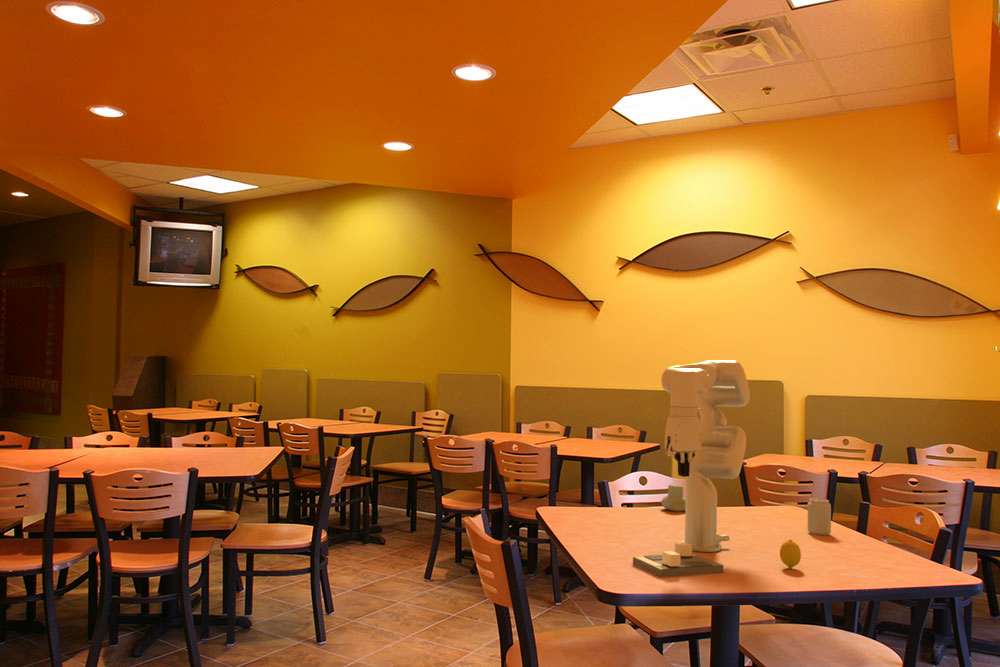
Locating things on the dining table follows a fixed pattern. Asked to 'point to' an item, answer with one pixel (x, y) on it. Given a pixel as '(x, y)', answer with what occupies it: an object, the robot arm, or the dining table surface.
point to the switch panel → (687, 566)
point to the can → (819, 517)
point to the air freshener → (674, 499)
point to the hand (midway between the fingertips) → (683, 475)
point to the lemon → (790, 553)
